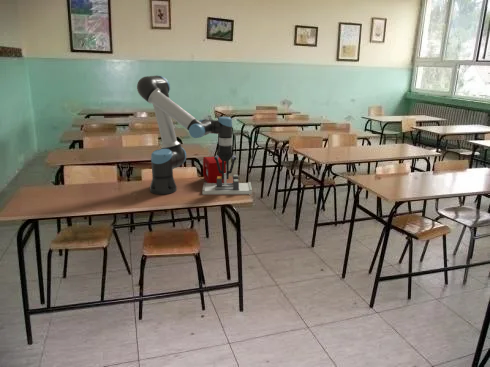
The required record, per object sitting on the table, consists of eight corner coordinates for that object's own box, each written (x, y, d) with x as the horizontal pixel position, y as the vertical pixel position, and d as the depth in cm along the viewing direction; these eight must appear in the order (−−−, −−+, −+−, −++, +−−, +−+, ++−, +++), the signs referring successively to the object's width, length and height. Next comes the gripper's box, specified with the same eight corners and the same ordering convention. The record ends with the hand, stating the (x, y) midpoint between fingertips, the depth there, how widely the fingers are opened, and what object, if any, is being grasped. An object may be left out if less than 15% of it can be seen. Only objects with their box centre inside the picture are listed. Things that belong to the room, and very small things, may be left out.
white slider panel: (202, 194, 227) (202, 181, 224) (203, 186, 241) (203, 174, 239) (251, 194, 228) (252, 181, 226) (250, 186, 242) (250, 173, 240)
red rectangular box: (203, 178, 257) (202, 155, 253) (219, 177, 260) (219, 154, 256) (208, 185, 242) (208, 161, 238) (225, 184, 245) (225, 160, 241)
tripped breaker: (216, 186, 232) (216, 177, 230) (216, 185, 235) (216, 176, 233) (222, 186, 232) (221, 177, 230) (222, 185, 235) (221, 176, 233)
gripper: (213, 146, 222) (213, 186, 229) (237, 146, 223) (236, 186, 230) (213, 143, 230) (214, 182, 237) (236, 143, 230) (236, 182, 237)
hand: (225, 184), depth 233 cm, fingers closed
